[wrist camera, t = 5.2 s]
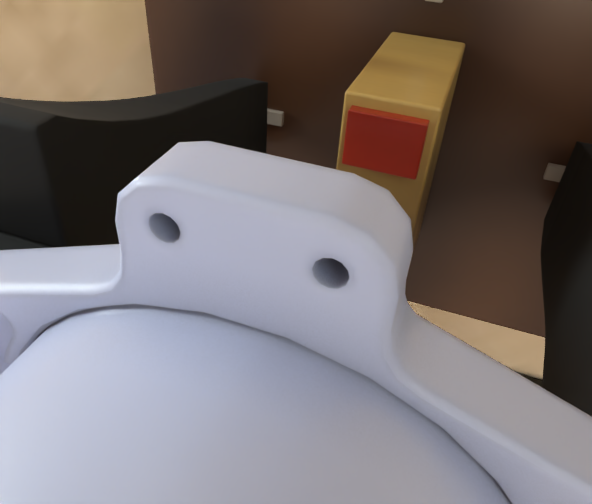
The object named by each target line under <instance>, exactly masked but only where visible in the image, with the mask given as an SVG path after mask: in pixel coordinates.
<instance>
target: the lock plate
mask: <svg viewBox="0 0 592 504" xmlns="http://www.w3.org/2000/svg"><path fill="white" fill-rule="evenodd" d="M145 7H146V15H147V23H148V32H149V40H150V48H151V57H152V65H153V73H154V82H155V90H156V94H162V93H167V92H172V91H177V90H182V89H186V88H191V87H195V86H200V85H204V84H208V83H213V82H217V81H222V80H228V79H234V78H248V79H253V80H258V81H264V82H268V103H267V147H266V154H269V155H274V156H278V157H283V158H287V159H292V160H296V161H301V162H305V163H310V164H314V165H319V166H323V167H327V168H332V169H336V166H337V157H338V149H339V140H340V131H341V123H342V114H343V105H344V97H345V92H346V90H347V89H348V88H349V87H350V85H351V84H352V83H353V81H354V80H355V79H356V78H357V76H358V75H359V74H360V72H361V71H362V70H363V69H364V67H365V66H366V65H367V64H368V62H369V61H370V60H371V58H372V57H373V56H374V55H375V53H376V52H377V51H378V49H379V48H380V47H381V46H382V44H383V43H384V42H385V40H386V39H387V38H388V37H389V35H390V34H391V33H392V32H398V33H404V34H411V35H417V36H423V37H430V38H436V39H443V40H449V41H455V42H462V43H464V44H465V50H464V54H463V58H462V62H461V66H460V70H459V74H458V78H457V83H456V87H455V91H454V95H453V99H452V103H451V107H450V111H449V115H448V119H447V123H446V127H445V131H444V135H443V139H442V143H441V147H440V152H439V156H438V160H437V164H436V168H435V172H434V176H433V180H432V184H431V188H430V192H429V196H428V200H427V204H426V208H425V212H424V216H423V221H422V225H421V229H420V233H419V236H418V239H417V243H416V246H415V249H414V253H413V256H412V259H411V263H410V266H409V270H408V274H407V278H406V288H405V295H406V299H407V301H411V302H415V303H418V304H422V305H426V306H430V307H433V308H437V309H441V310H444V311H448V312H452V313H456V314H459V315H463V316H467V317H471V318H474V319H478V320H482V321H486V322H489V323H493V324H497V325H500V326H504V327H508V328H512V329H515V330H519V331H523V332H527V333H530V334H534V335H538V336H542V337H545V316H544V302H543V287H542V272H541V254H540V252H541V242H542V233H543V225H544V218H545V216H546V214H547V211H548V209H549V206H550V204H551V202H552V199H553V197H554V195H555V192H556V190H557V187H558V185H559V183H560V180H561V178H562V175H563V173H564V171H565V168H566V166H567V163H568V161H569V159H570V156H571V154H572V152H573V149H574V147H575V144H576V142H577V141H579V142H584V143H589V144H592V0H145Z"/></svg>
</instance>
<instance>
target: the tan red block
mask: <svg viewBox="0 0 592 504" xmlns="http://www.w3.org/2000/svg"><path fill="white" fill-rule="evenodd" d="M464 50H465V44H464V43H462V42H455V41H449V40H443V39H436V38H430V37H423V36H417V35H411V34H404V33H398V32H392V33H391V34H390V35H389V37H388V38H387V39H386V40H385V42H384V43H383V44H382V46H381V47H380V48H379V49H378V51H377V52H376V53H375V55H374V56H373V57H372V58H371V60H370V61H369V62H368V64H367V65H366V66H365V67H364V69H363V70H362V71H361V72H360V74H359V75H358V76H357V78H356V79H355V80H354V81H353V83H352V84H351V85H350V87H349V88H348V89H347V90H346V92H345V97H344V105H343V114H342V123H341V131H340V140H339V149H338V157H337V166H336V170H341V171H345V172H350V173H354V174H356V175H358V176H360V177H363V178H365V179H367V180H369V181H371V182H373V183H375V184H377V185H379V186H381V187H383V188H385V189H387V190H389V191H390V192H391V194H392V195H393V196H394V198H395V199H396V200H397V202H398V203H399V204H400V206H401V207H402V208H403V209H404V211H405V212H406V213H407V215H408V216H409V217H410V219H411V228H412V240H413V253H414V249H415V246H416V243H417V239H418V236H419V233H420V229H421V225H422V221H423V216H424V212H425V208H426V204H427V200H428V196H429V192H430V188H431V184H432V180H433V176H434V172H435V168H436V164H437V160H438V156H439V152H440V147H441V143H442V139H443V135H444V131H445V127H446V123H447V119H448V115H449V111H450V107H451V103H452V99H453V95H454V91H455V87H456V83H457V78H458V74H459V70H460V66H461V62H462V58H463V54H464ZM412 256H413V254H412ZM411 259H412V258H411ZM410 263H411V262H410Z"/></svg>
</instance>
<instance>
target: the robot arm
mask: <svg viewBox="0 0 592 504" xmlns="http://www.w3.org/2000/svg"><path fill="white" fill-rule="evenodd" d="M267 103H268V82H264V81H258V80H253V79H248V78H234V79H228V80H222V81H217V82H213V83H208V84H204V85H200V86H195V87H191V88H186V89H182V90H177V91H172V92H167V93H162V94H156V95H151V96H145V97H138V98H131V99H121V100H110V101H81V102H56V101H35V100H21V99H11V98H3V97H0V504H592V144H589V143H584V142H579V141H577V142H576V144H575V147H574V149H573V152H572V154H571V156H570V159H569V161H568V163H567V166H566V168H565V171H564V173H563V175H562V178H561V180H560V183H559V185H558V187H557V190H556V192H555V195H554V197H553V199H552V202H551V204H550V206H549V209H548V211H547V214H546V216H545V218H544V225H543V233H542V242H541V252H540V254H541V272H542V287H543V302H544V316H545V356H544V370H543V382H542V387H540V386H539V385H537V384H535V383H533V382H532V381H530V380H528V379H527V378H525V377H523V376H521V375H520V374H518V373H516V372H515V371H513V370H511V369H509V368H508V367H506V366H504V365H503V364H501V363H499V362H498V361H496V360H494V359H492V358H491V357H489V356H487V355H486V354H484V353H482V352H480V351H479V350H477V349H475V348H474V347H472V346H470V345H468V344H467V343H465V342H463V341H462V340H460V339H458V338H456V337H455V336H453V335H451V334H450V333H448V332H446V331H444V330H443V329H441V328H439V327H438V326H436V325H434V324H432V323H431V322H429V321H427V320H426V319H424V318H422V317H420V316H419V315H417V314H416V313H415V312H414V311H413V309H412V308H411V307H410V305H409V304H408V302H407V299H406V295H405V288H406V278H407V274H408V270H409V266H410V262H411V258H412V254H413V240H412V228H411V219H410V217H409V216H408V215H407V213H406V212H405V211H404V209H403V208H402V207H401V206H400V204H399V203H398V202H397V200H396V199H395V198H394V196H393V195H392V194H391V192H390V191H389V190H387V189H385V188H383V187H381V186H379V185H377V184H375V183H373V182H371V181H369V180H367V179H365V178H363V177H360V176H358V175H356V174H354V173H350V172H345V171H341V170H336V169H332V168H327V167H323V166H319V165H314V164H310V163H305V162H301V161H296V160H292V159H287V158H283V157H278V156H274V155H269V154H266V147H267Z"/></svg>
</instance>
